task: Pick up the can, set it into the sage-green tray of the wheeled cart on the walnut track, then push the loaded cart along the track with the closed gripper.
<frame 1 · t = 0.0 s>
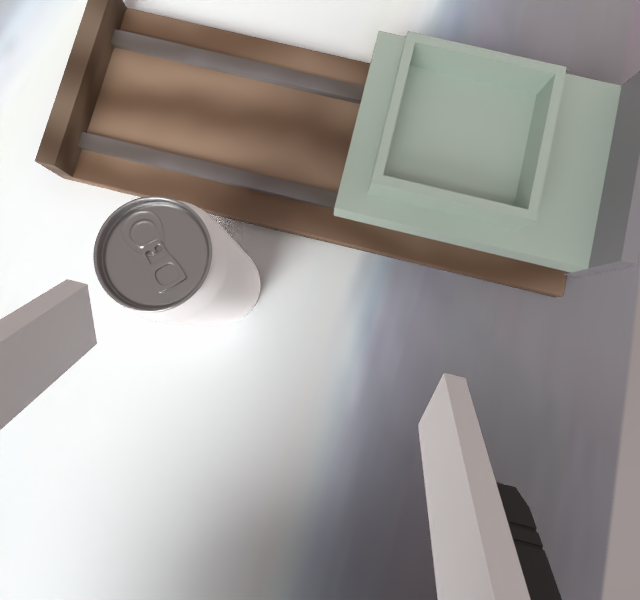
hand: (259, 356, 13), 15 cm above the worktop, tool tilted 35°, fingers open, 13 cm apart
cart: (484, 151, 25), point 5 cm above the worktop, slide at 0.0 cm
can: (222, 286, 29), on the worktop
track: (327, 150, 30), on the worktop
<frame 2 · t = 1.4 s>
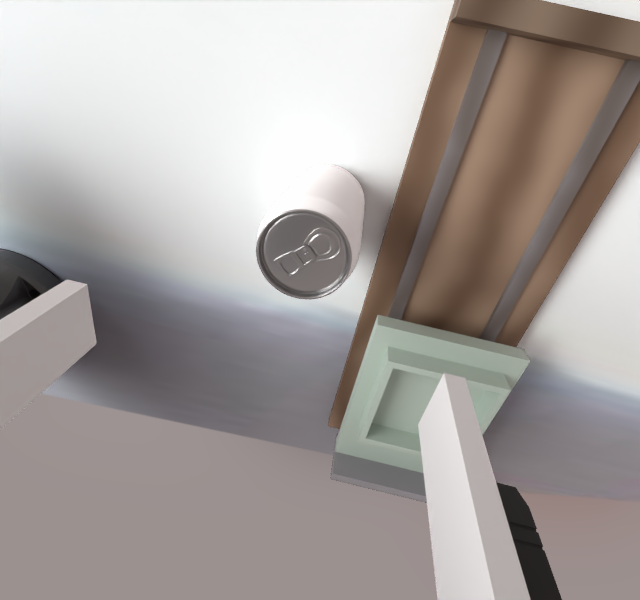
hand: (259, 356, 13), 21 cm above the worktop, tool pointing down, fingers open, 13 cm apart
cart: (417, 411, 35), point 5 cm above the worktop, slide at 0.0 cm
can: (327, 201, 32), on the worktop
track: (451, 291, 34), on the worktop
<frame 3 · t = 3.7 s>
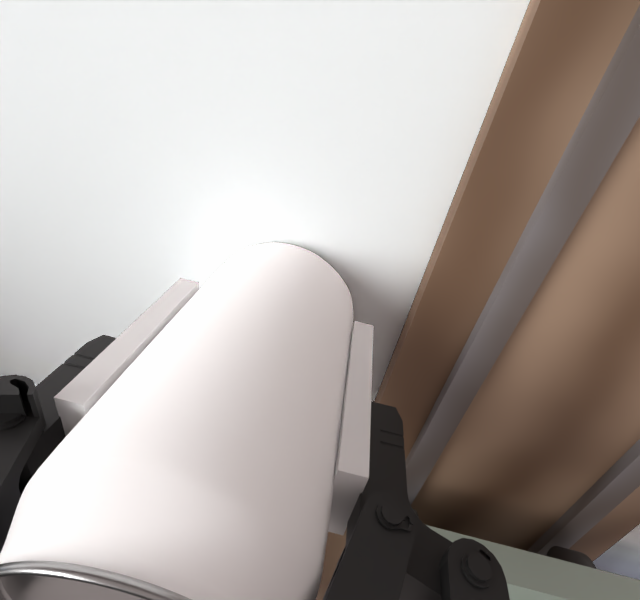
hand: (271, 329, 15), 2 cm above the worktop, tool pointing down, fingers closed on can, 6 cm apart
can: (284, 303, 17), on the worktop, touching gripper
track: (507, 450, 19), on the worktop
when the fingers open (9 cm above the worktop, at t = 8.4 s): can drops 2 cm, resting on cart.
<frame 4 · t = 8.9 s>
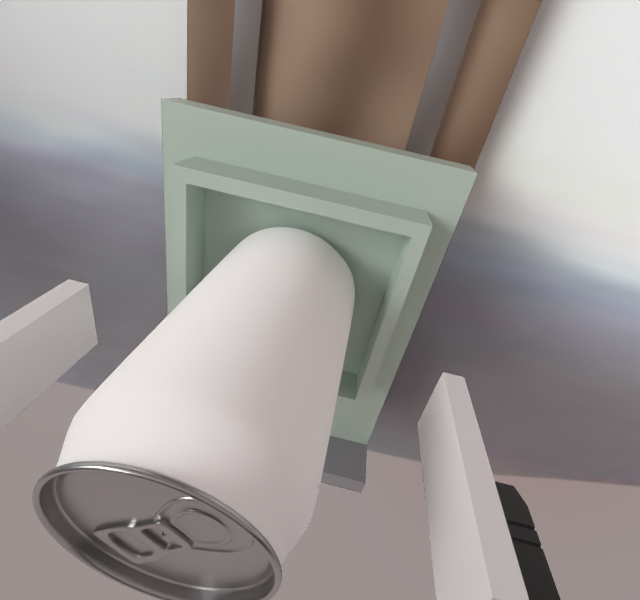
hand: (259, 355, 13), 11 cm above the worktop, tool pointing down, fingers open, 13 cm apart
cart: (287, 313, 20), point 5 cm above the worktop, slide at 0.1 cm, touching can
can: (292, 284, 18), point 5 cm above the worktop, touching cart
track: (341, 82, 18), on the worktop
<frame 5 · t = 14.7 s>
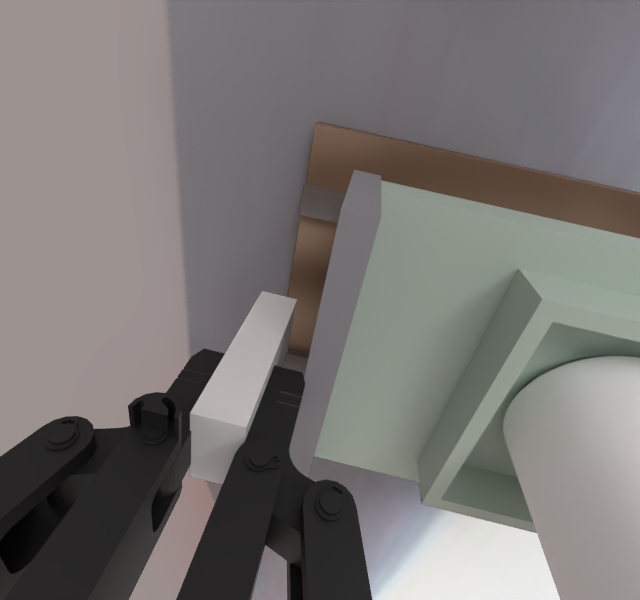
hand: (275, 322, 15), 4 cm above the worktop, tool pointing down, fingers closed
cart: (532, 392, 15), point 5 cm above the worktop, slide at 1.5 cm, touching can, gripper
can: (586, 410, 14), point 5 cm above the worktop, touching cart
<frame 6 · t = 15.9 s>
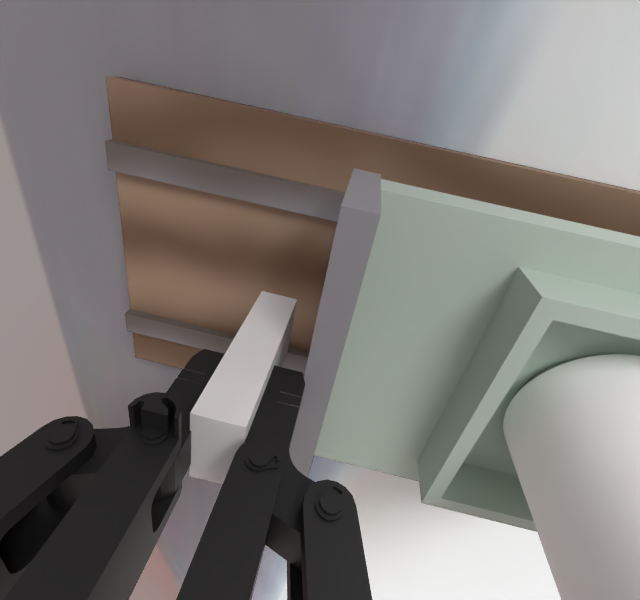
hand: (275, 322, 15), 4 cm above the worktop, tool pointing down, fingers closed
cart: (532, 391, 15), point 5 cm above the worktop, slide at 10.2 cm, touching can, gripper
can: (586, 409, 14), point 5 cm above the worktop, touching cart
track: (514, 327, 19), on the worktop
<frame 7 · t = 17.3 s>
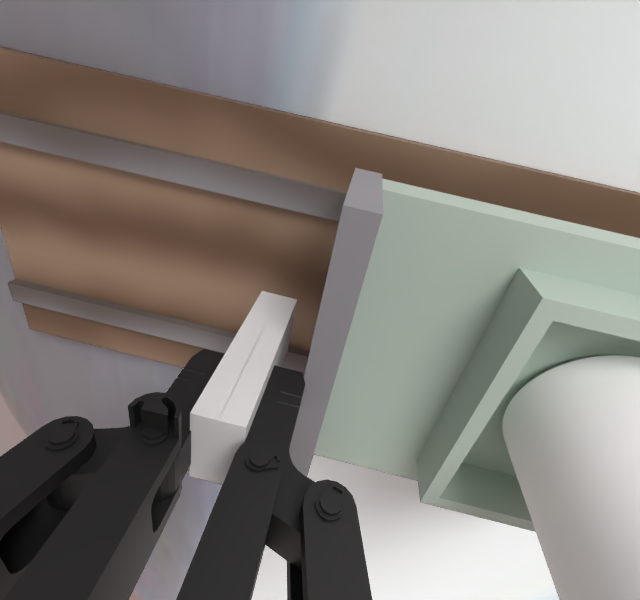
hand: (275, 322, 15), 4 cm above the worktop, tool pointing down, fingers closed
cart: (531, 391, 15), point 5 cm above the worktop, slide at 17.0 cm, touching can, gripper
can: (585, 409, 14), point 5 cm above the worktop, touching cart
track: (385, 297, 19), on the worktop
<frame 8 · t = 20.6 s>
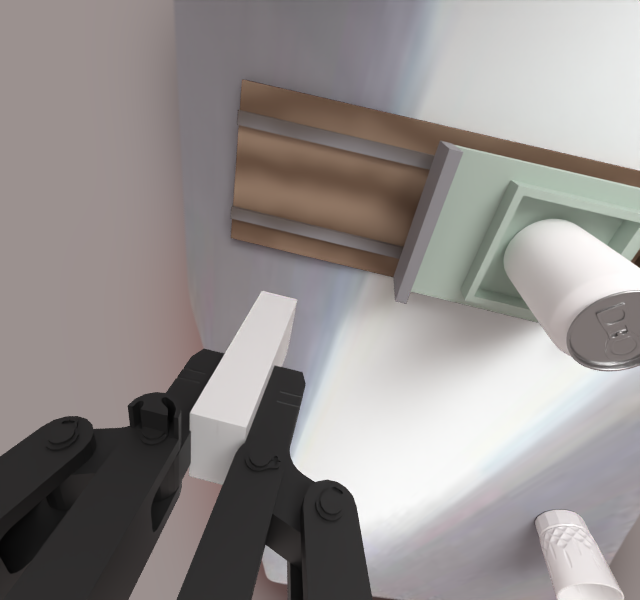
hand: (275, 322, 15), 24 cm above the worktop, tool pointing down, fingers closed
cart: (517, 245, 32), point 5 cm above the worktop, slide at 17.3 cm, touching can
can: (541, 252, 31), point 5 cm above the worktop, touching cart
track: (438, 212, 36), on the worktop
white cup: (557, 520, 57), on the worktop
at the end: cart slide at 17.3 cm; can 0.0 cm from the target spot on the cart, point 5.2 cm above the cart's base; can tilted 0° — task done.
